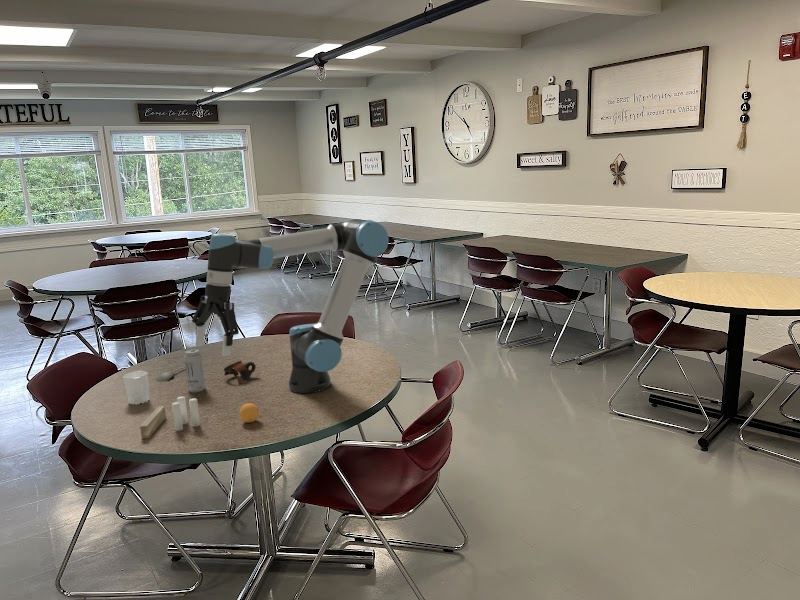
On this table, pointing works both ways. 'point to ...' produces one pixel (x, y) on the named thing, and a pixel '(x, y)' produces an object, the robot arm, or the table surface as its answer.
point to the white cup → (137, 386)
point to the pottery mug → (240, 370)
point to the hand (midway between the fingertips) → (212, 350)
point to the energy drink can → (194, 370)
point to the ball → (249, 412)
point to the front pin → (194, 412)
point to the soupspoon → (166, 375)
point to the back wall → (153, 422)
